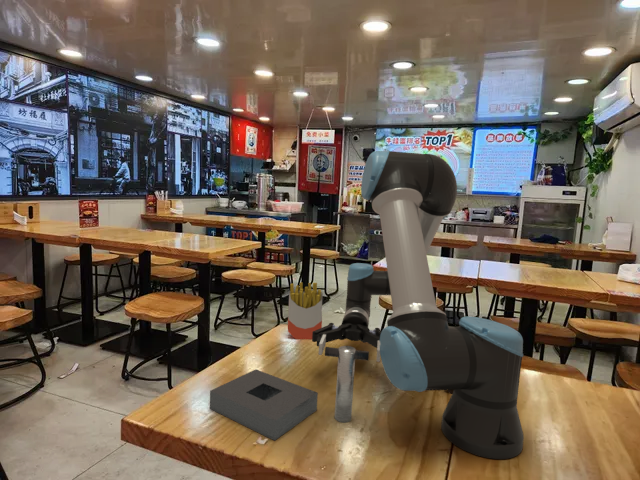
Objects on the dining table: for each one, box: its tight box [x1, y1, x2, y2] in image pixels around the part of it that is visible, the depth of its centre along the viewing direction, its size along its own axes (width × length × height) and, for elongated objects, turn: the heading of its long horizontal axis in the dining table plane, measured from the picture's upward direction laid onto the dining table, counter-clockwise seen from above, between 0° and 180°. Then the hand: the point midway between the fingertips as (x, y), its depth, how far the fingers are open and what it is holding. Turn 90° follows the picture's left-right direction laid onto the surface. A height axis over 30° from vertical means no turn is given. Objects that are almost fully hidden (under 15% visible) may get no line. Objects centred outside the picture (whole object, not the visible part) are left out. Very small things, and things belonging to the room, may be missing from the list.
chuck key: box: [324, 345, 370, 423], centre depth 83 cm, size 9×4×15 cm, turn 81°
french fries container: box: [287, 281, 324, 340], centre depth 130 cm, size 5×11×18 cm, turn 96°
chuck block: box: [209, 368, 319, 442], centre depth 85 cm, size 18×14×4 cm
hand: (349, 352), depth 93 cm, fingers open, 13 cm apart
